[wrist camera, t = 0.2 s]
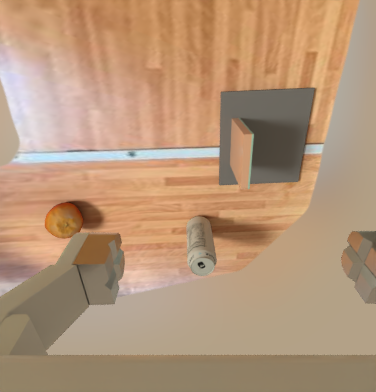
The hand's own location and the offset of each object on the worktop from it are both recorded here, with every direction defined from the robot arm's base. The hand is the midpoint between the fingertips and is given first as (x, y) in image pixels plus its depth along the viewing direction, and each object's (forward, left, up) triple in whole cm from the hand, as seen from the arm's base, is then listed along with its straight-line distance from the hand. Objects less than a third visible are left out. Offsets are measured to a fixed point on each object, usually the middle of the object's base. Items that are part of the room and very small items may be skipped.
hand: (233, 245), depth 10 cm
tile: (+11, +9, -47) cm, 49 cm away
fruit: (+27, -30, -48) cm, 63 cm away
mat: (+11, +15, -47) cm, 51 cm away
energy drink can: (+32, +1, -48) cm, 57 cm away
